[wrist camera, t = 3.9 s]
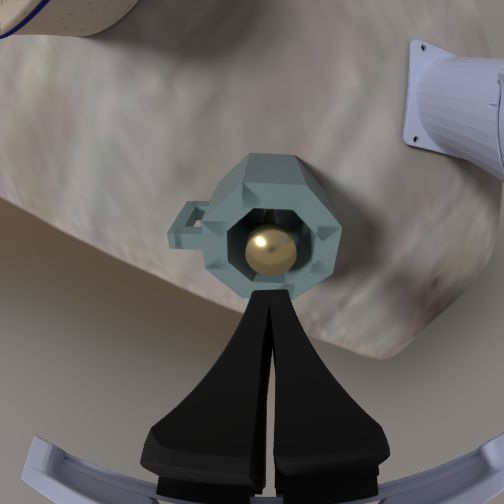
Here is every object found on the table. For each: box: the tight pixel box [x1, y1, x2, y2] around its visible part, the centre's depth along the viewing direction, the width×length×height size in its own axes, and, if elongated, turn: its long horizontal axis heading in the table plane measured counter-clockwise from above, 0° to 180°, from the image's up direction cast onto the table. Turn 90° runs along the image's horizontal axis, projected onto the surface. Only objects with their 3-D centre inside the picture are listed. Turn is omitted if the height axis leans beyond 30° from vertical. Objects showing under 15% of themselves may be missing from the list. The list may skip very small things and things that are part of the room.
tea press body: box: [167, 153, 342, 300], centre depth 17 cm, size 9×7×6 cm
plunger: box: [243, 208, 298, 275], centre depth 16 cm, size 4×4×5 cm
